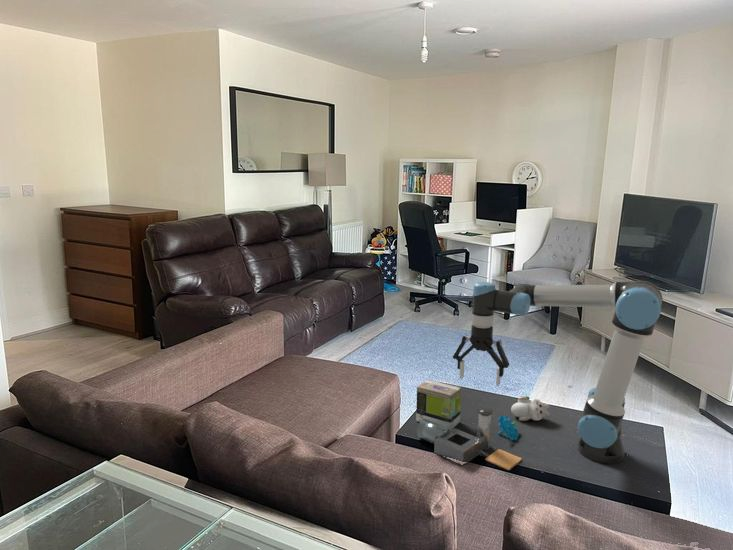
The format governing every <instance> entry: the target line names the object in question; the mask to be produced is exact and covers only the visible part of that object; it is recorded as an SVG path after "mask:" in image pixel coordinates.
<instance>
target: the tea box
mask: <svg viewBox="0 0 733 550" xmlns="http://www.w3.org/2000/svg"><path fill="white" fill-rule="evenodd" d="M461 406H462V387H461V386H457V385H453V384H448V383H444V382H440V381H436V380H431V379H427V380H425V381H424V382H422V383H421V384H420V385H418V386H417V387H416V406H415V407H416V411H415V413H416V415H415V419H416V420H415V421H416V422H419V423H420V421H421V420H423V419H427V420H429V421H432V422H434V423H437V424H439V425H441V426H444V427H446V428H448V429H449V430H452V429H453V428H455V427H456V426H457V425H458V424H460V422H461V411H462V410H461V409H462V408H461Z"/></svg>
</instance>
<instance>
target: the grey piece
mask: <svg viewBox="0 0 733 550" xmlns="http://www.w3.org/2000/svg"><path fill="white" fill-rule="evenodd" d="M416 436H417V437H418V438H420V439H423V440H425V441H427V442H429V443H431V444H433V446H434V447H433V448H434V450H433V453H434V454H436V455H438V456H440V455H441V456H440V457H442V456H445V457H449V458H453V459H456V460H459V461H462V462H468V463H469V462H471V461H472V460H474V459H475V458H476V457H477V456H479V455H481V454H482V453H483V449H482V442H483V440H482V439H480V438H477V436H474V435H473V434H471V433H467V432H465V431H462V430H460V429H458V428H455V427H454V428H453V429H451V430H449V429H448V428H446V427H444V426H441V425H439V424H437V423H434V422H432V421H429V420H427V419H423V420H421V421H420V422H419V423H418V425H417V427H416Z"/></svg>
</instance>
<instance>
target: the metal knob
mask: <svg viewBox="0 0 733 550" xmlns="http://www.w3.org/2000/svg"><path fill="white" fill-rule="evenodd" d="M493 412H494V411H493V410H492V409H491V408H489V407H486V406H483V407H482V406H481V407H478V408H477V413H478V416H477V417H478V419H477V420H478V421H477V433H476V434H477V436H476V437H477V438H480V439H482V440H483V442H482V451H483V450H484V451H485V450H489V449H490V439H491V424H492V414H493Z"/></svg>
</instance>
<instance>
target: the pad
mask: <svg viewBox="0 0 733 550" xmlns="http://www.w3.org/2000/svg"><path fill="white" fill-rule="evenodd" d="M485 461H486V462H488V463H490V464H493V465H495V466H498V467H500V468H502V469H503V470H507V471H510V470H512V469H513V468H514V467H515V466H517V465H518V464H520V462H521V461H523V458H522V457H520V456H517V455H515V454H512V453H510V452H508V451H505V450H503V449H500V448H498V449H497V450H495V451H494V452H492V453H491V454H490V455H488V456H487V457H486V458H485Z"/></svg>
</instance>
